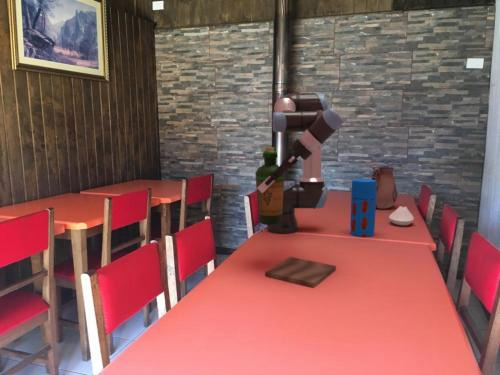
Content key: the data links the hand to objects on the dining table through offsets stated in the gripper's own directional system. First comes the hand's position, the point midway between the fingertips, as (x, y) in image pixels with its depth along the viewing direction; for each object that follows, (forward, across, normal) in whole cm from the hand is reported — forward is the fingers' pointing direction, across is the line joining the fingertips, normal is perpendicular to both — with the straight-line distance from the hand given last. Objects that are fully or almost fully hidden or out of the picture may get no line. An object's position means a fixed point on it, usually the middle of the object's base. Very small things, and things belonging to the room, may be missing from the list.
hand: (262, 187), depth 146 cm
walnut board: (+9, -12, -30) cm, 33 cm away
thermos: (-9, +42, -48) cm, 64 cm away
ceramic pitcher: (-19, +101, -60) cm, 119 cm away
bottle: (+7, 0, -12) cm, 14 cm away
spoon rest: (-24, +69, -64) cm, 97 cm away
